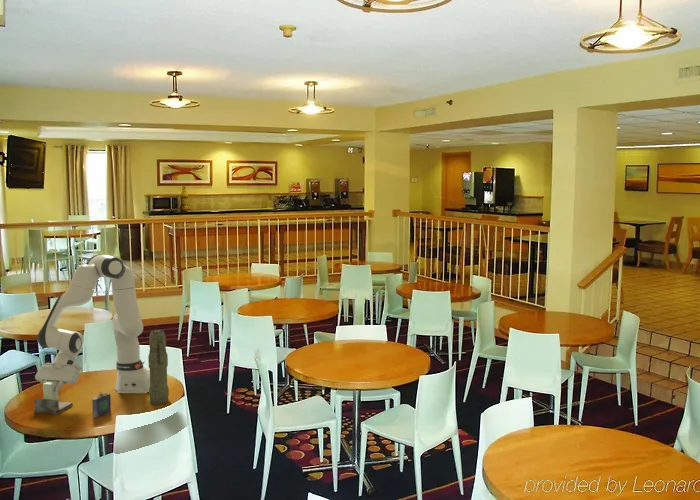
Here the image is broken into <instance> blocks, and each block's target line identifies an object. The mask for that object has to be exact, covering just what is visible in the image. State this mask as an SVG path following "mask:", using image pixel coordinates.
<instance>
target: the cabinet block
mask: <svg viewBox="0 0 700 500" xmlns="http://www.w3.org/2000/svg"><path fill="white" fill-rule="evenodd" d="M58 385H59V383H58V382H57V381H48V382H46V383H44V384H43V383H42V388H43V390H42V392H43V397H42V399H49V400H58V402H60V401H59V398H60V397H59V391H58V392H55V391H53V389H54V387H57V386H58Z"/></svg>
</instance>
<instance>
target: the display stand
mask: <svg viewBox="0 0 700 500" xmlns="http://www.w3.org/2000/svg"><path fill="white" fill-rule="evenodd" d="M33 403H34V404H33V405H34V406H33V407H34V409H33V413H35V414H36V413H37V414H48V415H59V414H61V413H62V412H64V411H66V410H68V409H70V408H71V407H73V405H74V404H73V402H67V401H59V402H58V400H49V399H44V398H35V399H34V400H33Z"/></svg>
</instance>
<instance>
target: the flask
mask: <svg viewBox="0 0 700 500" xmlns="http://www.w3.org/2000/svg"><path fill="white" fill-rule="evenodd" d="M91 400H92V401H91V403H92V405H91V406H92V419H98V418H101V417H103V416H106V415H108V414H111V413H112V412H111V411H112V409H111V406H112V405H111V404H112V403H111V393H109V392H105V393H102V391H100V392H98V396H95V397H93V398H92V399H91Z"/></svg>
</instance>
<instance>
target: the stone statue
mask: <svg viewBox="0 0 700 500" xmlns="http://www.w3.org/2000/svg"><path fill="white" fill-rule="evenodd" d="M166 338H167V336H166V333H165V331H164V330H162V329H154V330H152V331H151V332H150V334H149V338H148V340H149V345H148V346H149V353H148V360H147V361H148V368H149V371H150V388H149V393H148V394H149V396H148V397H149V404H151V405H164V404H167V403H168V402H169V401H168V400H169V394H170V393H169V390H170V389H169V388H170V387H169V386H168V365H169V363H168V362H169V360H168V358H169V356H168V353H167V339H166ZM166 402H167V403H166Z"/></svg>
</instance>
